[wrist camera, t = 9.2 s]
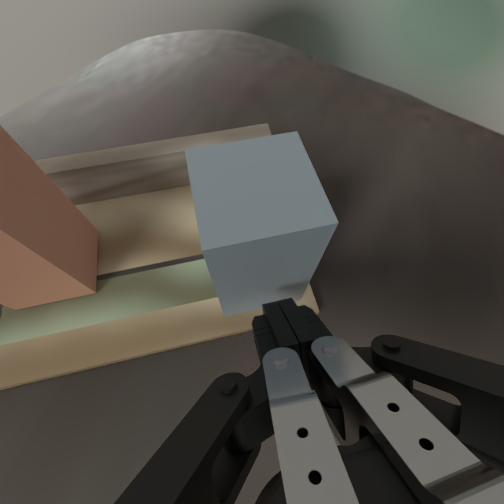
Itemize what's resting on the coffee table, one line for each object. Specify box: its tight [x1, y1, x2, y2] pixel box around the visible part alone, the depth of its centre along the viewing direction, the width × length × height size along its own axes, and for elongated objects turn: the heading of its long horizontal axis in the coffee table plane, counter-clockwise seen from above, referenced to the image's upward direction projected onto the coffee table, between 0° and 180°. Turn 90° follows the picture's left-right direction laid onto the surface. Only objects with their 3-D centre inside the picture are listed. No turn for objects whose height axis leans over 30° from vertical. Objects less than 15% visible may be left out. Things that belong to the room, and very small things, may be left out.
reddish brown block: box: [0, 126, 98, 310], centre depth 15 cm, size 5×5×9 cm
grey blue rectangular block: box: [185, 131, 339, 317], centre depth 15 cm, size 5×5×9 cm
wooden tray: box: [0, 123, 319, 390], centre depth 19 cm, size 14×20×4 cm
